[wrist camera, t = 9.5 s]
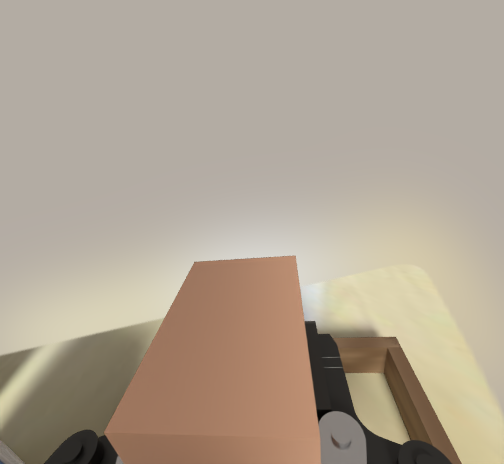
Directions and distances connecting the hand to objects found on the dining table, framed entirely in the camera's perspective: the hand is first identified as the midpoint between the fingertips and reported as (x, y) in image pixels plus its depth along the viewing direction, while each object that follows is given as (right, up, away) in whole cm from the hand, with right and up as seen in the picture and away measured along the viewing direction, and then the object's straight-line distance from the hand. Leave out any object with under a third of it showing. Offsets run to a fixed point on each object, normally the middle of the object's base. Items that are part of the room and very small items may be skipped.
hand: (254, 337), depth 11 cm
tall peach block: (+1, -7, +1) cm, 8 cm away
